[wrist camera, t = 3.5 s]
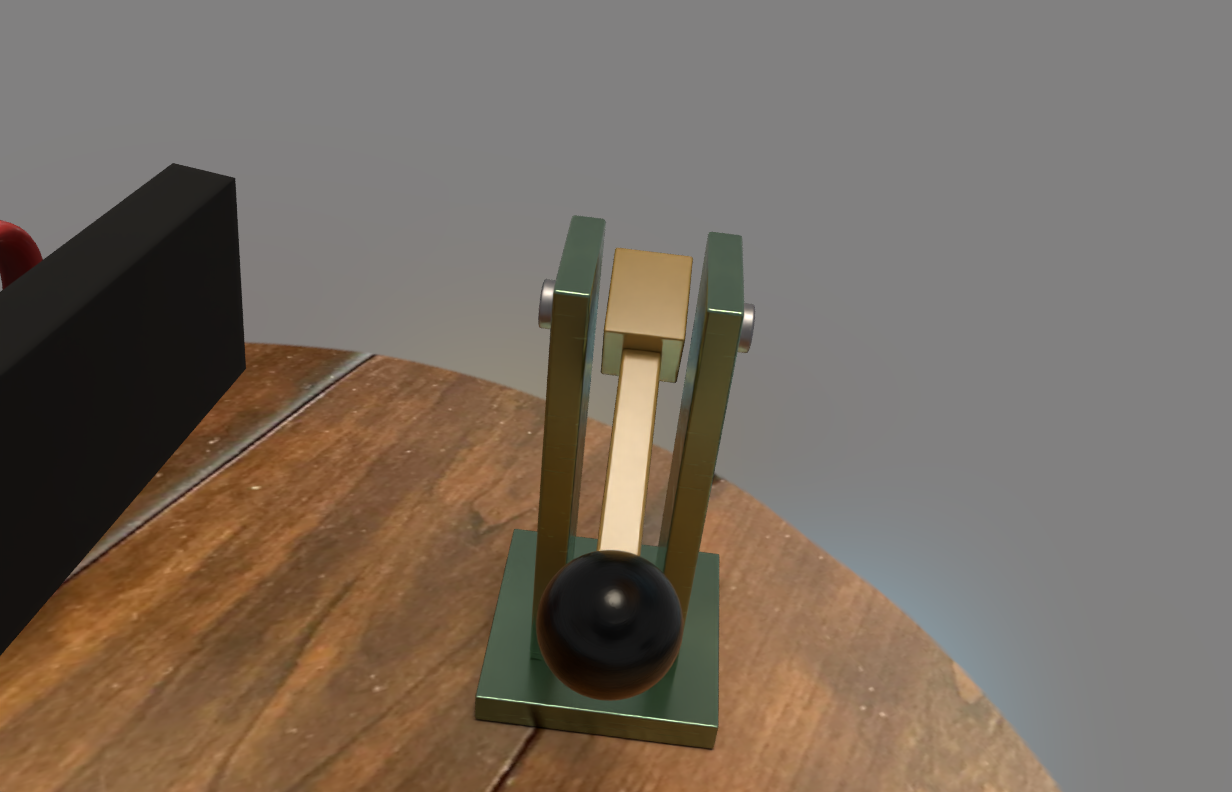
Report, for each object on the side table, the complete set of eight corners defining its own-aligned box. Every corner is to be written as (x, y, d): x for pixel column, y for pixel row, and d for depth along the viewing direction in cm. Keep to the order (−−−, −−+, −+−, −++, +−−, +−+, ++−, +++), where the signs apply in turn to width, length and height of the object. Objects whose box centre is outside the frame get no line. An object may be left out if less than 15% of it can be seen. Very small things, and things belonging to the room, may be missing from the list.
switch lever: (669, 723, 27) (684, 690, 23) (527, 705, 27) (523, 670, 24) (705, 316, 32) (720, 246, 29) (588, 302, 33) (591, 230, 29)
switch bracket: (713, 749, 35) (807, 360, 26) (474, 719, 35) (482, 320, 26) (714, 575, 42) (791, 212, 32) (513, 549, 42) (530, 181, 32)
